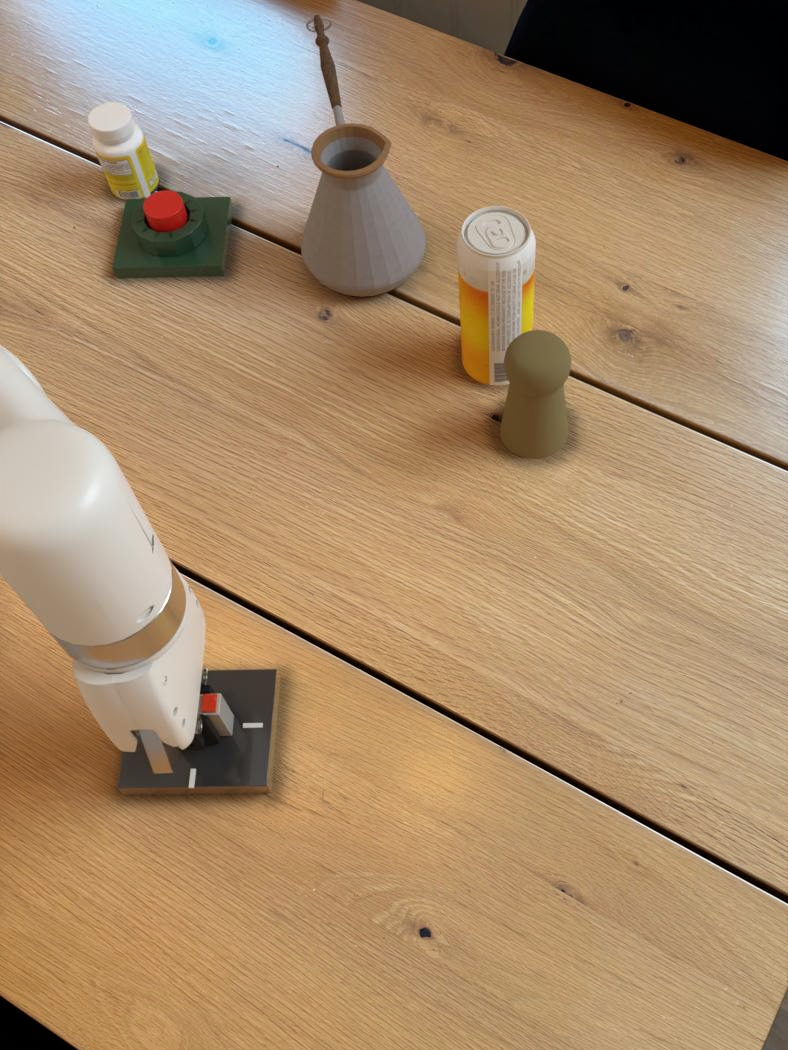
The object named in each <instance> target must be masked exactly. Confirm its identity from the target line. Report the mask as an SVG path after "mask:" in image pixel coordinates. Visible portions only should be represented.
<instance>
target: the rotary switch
mask: <svg viewBox="0 0 788 1050" xmlns="http://www.w3.org/2000/svg"><path fill="white" fill-rule="evenodd" d="M206 669H207V683H206V685H211V687H212V688H213V690H214V692H215V693H216V694H217V693H221V694H222V696H223V698H224V700H225V701H226V703H227V705H228V706H229V708H230V710H231V711H232V713H233V715H234V722H233V733H232V736H220V743H219V744H215V745H204V748H203V749H201V750H185V749H184V750H182V749H180V748H179V752H180V754H179V758H178V761H177V765H176V769H175V772H174V773H154V772H153V770H152V767H151V764H150V761H149V759H148V756H147V753H146V751H145V748H144V745H143V742H142V740H141V737H140V735H139V736H137V740H138V741H137V746H136V750H135V752H124V751H121V752H122V753H121V759H120V766H119V767H120V768H119V772H118V780H117V786H116V788H117V790H118V791H119V792H120V793H121V794H122V795H123V796H173V795H175V796H176V795H177V796H178V795H179V796H180V795H232V794H233V795H234V794H237V795H238V794H239V795H240V794H271V793H272V790H273V789H272V788H273V777H274V763H275V753H276V751H275V750H276V742H277V741H276V739H277V729H278V728H277V727H278V714H279V703H280V691H281V675H280V674H279V672H278V670H277V669H276V668H268V669H267V668H266V669H264V668H263V669H261V668H260V669H211V670H209V668H208V667H206Z"/></svg>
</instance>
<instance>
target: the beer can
mask: <svg viewBox="0 0 788 1050" xmlns="http://www.w3.org/2000/svg"><path fill="white" fill-rule="evenodd" d="M536 247H537V241H536V236H535V233H534V231H533V230H532V227H531V224H530V222H529V220H528V218H527V217H526V216H525V215H524V214H523V213H521V212H520V211H518V210H516V209H514V208H512V207H509V206H503V205H491V206H485V207H481V208H479V209H477V210H475V211H473V212H471V213H470V214H469V215H468V216H467V217H466V218H465V219H464V221H463V223H462V225H461V229H460V231H459V232H458V234H457V237H456V260H457V280H458V281H457V283H458V299H459V300H458V302H459V318H460V319H459V323H460V343H461V361H462V366H463V369H464V370H465V372H466V373H467V374H468V375H469V376H470V377H471V378H472V379H473V380H475V381H476V382H479V383H481V384H484V385H488V386H505V385H509V384H510V382H509V381H508V379H507V377H506V374H505V369H504V358H505V353H506V350H507V348H508V346H509V345H510V343H511V342H512V341H513V340H514V339H515V338H516V337H518V336H519V335H520V334H522V333H525V332H527V331H532V330H534V329H533V328H534V303H535V301H534V299H535V276H536V275H535V274H536V273H535V272H536V251H537V249H536Z"/></svg>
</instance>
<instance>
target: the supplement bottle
mask: <svg viewBox="0 0 788 1050" xmlns="http://www.w3.org/2000/svg"><path fill="white" fill-rule="evenodd" d="M87 123H88V126H89V129H90V132H91V134H92V139H91V141H92V146H93V149H94V152H95V155H96V157H97V159H98V162H99V164H100V167H101V170H102V171H103V174H104V176H105V179H106V181H107V184H108V186H109V189H110V191H111V193H112V195H113V196H114V197H116V198H117V199H119V200H120V201H121V200H122V201H125V202H126V199H145V198H147V197H149V196H150V195H152V194H153V193H156V192H157V190H158V188H159V187H160V177H159V174H158V171H157V169H156V166H155V162H154V160H153V157H152V155H151V152H150V149H149V147H148V143H147V140H146V137H145V135H144V132H143V130H142V129H141V128H140V126H139V125H138V124H137V123H136V122H135V119H134V116H133V114H132V111H131V109H130V108H129V107H128V105H126V104H124V103H121V102H117V101H109V102H105V103H101V104H99V105H97V106H95V107H94V108H93V109H92V110H91V111H90V112H89V114H88V116H87Z"/></svg>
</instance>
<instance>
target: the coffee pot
mask: <svg viewBox="0 0 788 1050" xmlns="http://www.w3.org/2000/svg"><path fill="white" fill-rule="evenodd" d="M323 20H325V21H329V25H327V26H326V27H325V25H324V22H323ZM312 22H313V28H314V29H312V28H309V25H310V24H311V23H312ZM332 24H333V22H332V19H330V18H329V17H325V16H321V15H320V14H315V15H313V18H310V20H308V21H307V22H306V24H305V28H306V29H307V31H308V32H311V33H316V38H315V41H314V42H315V45H316V46H317V47H318V49H319V50H318V51H319V63H320V71H321V73H322V78H323V82H324V84H325V85H324V86H325V89H326V92H327V96H328V100H329V103H330V107H331V110H332V112H333V118H334V122H335V125H334V126H332V127H329V128H328V129H325V130H324V131H323V132H321V133H320V134H319V135H318V136H317V137H316V138H315V140H314V141H313V144H312V146H311V150H310V152H311V160H312V162H313V164H314V166H315V167H316V168H317V169H318V170H319V171H320V172H321V174H320V178H319V181H318V184H317V188H316V190H315V194H314V197H313V201H312V204H311V207H310V209H309V214H308V218H307V221H306V223H305V227H304V230H303V233H302V236H301V239H300V250H301V251H300V252H301V257H302V260H303V263H304V264H305V267H306V269H307V270H308V271H309V272H310V273H311V274H312V276H313V277H314V278H315V279H316V280H317V281H318V282H319V283H320V284H321V285H323V286H325V287H326V288H328V289H329V290H330V291H333V292H337V293H339V294H342V295H346V296H350V297H351V296H352V297H359V298H364V297H375V296H378V295H381V294H385V293H389V292H391V291H392V290H394V289H397V288H398V287H401V286H402V285H403V284H404V283H405V282H407V281H408V280H410V278H411V277H413V276H414V274H415V273H416V271H417V270H418V268H419V267H420V265H421V263H422V261H423V258H424V256H425V252H426V248H427V238H426V237H427V236H426V231H425V228H424V227H423V225H422V223H421V220H420V218H419V217H418V216H417V213H416V212H415V210H413V208H412V207H411V204H410V203H409V202H408V201H407V199H406V197H405V196H404V195H403V192H402V191H401V190H400V188H399V187H398V185H397V184H396V183H395V181H394V179H393V178H392V176H391V175H390V173H389V171H388V169H386V167H385V166H384V165H385V162H386V160H387V158H388V156H389V154H390V152H391V148H392V145H393V144H392V141H391V140H390V139H389V138H388V137H387V136H386V135H384V134H383V133H382V132H381V131H380V130H378V129H376V128H374V127H372V126H371V125H368V124H367V125H366V124H363V123H354V122H353V123H352V122H351V123H346V122H345V117H344V113H343V110H342V109H343V108H342V107H343V106H342V98H341V93H340V87H339V81H338V74H337V69H336V64H335V62H334V61H335V60H334V59H333V56H332V53H331V50H330V48H329V44H330V38H329V36H327V35H326V33H325V31H328V30H329V29H331V27H332Z"/></svg>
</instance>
